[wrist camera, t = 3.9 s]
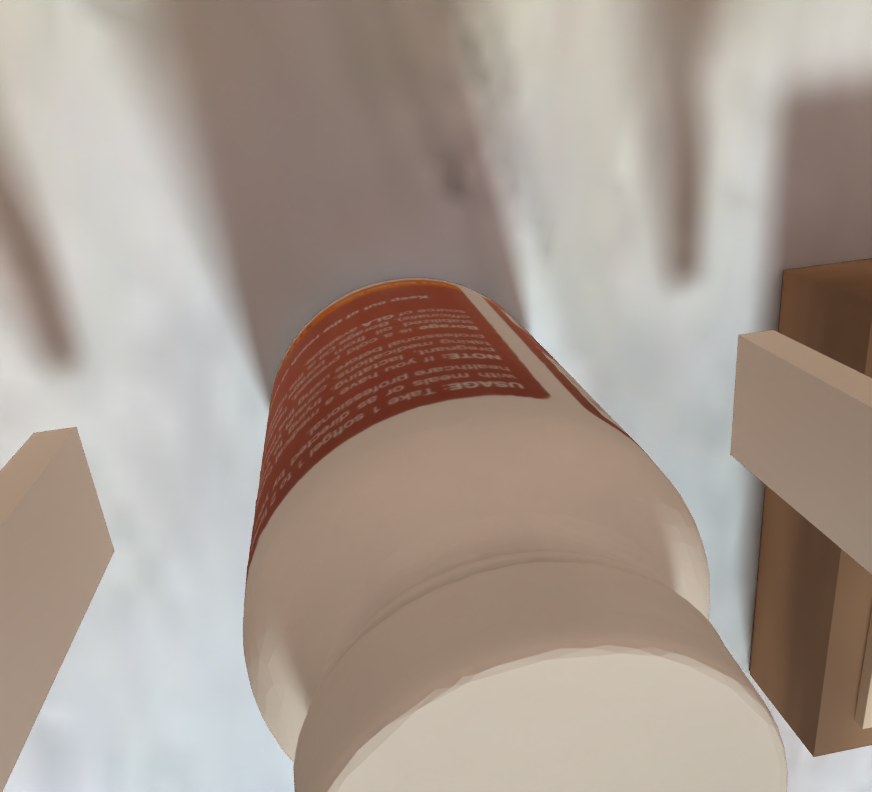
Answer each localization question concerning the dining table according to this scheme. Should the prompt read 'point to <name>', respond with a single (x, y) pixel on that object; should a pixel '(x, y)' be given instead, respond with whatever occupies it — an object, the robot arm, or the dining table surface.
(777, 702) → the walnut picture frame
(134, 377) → the dining table surface
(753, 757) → the pill bottle
